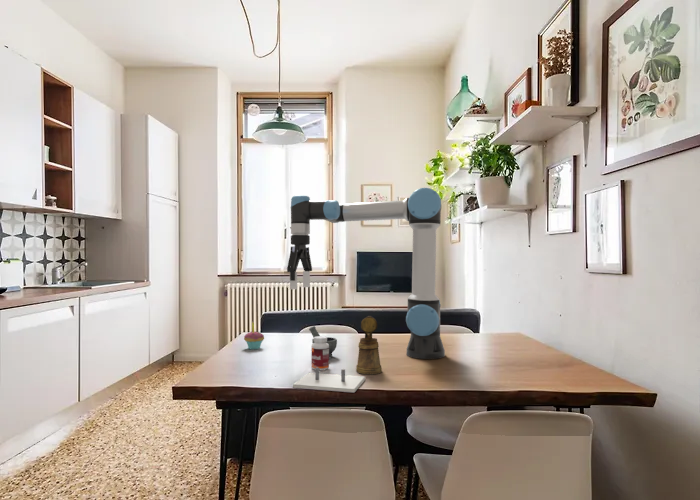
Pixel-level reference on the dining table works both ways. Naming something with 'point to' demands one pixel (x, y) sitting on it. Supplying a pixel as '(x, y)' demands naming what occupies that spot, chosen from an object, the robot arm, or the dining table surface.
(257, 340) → the cupcake
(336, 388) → the pin tray
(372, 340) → the brown ball-topped piece
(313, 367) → the pill bottle
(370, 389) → the dining table surface
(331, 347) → the mortar and pestle
